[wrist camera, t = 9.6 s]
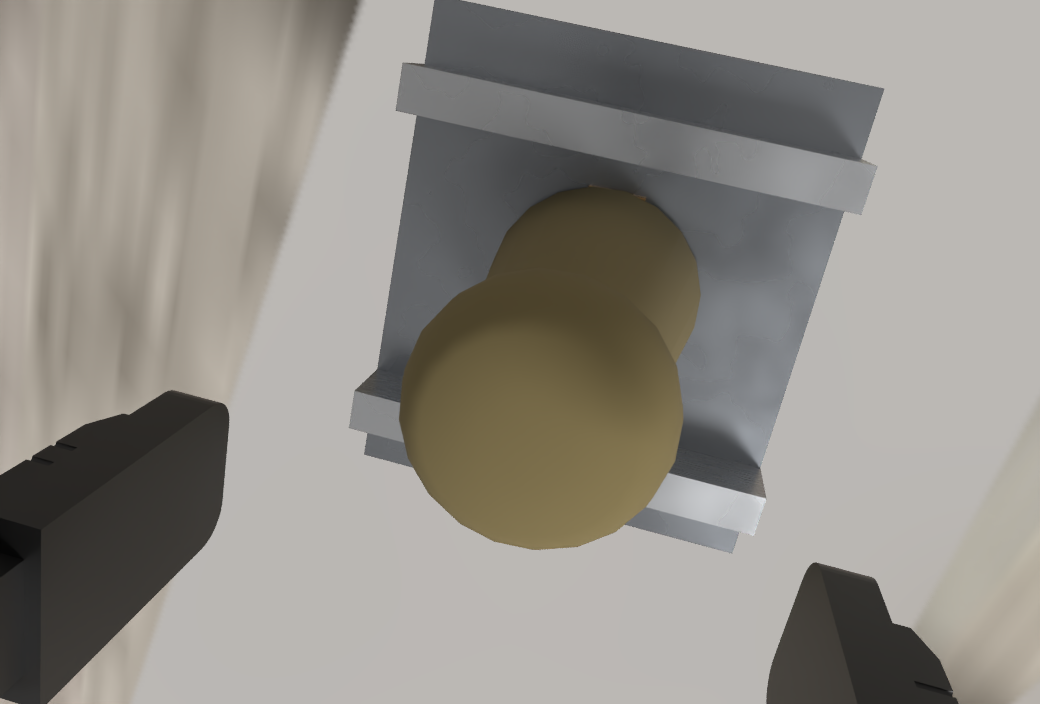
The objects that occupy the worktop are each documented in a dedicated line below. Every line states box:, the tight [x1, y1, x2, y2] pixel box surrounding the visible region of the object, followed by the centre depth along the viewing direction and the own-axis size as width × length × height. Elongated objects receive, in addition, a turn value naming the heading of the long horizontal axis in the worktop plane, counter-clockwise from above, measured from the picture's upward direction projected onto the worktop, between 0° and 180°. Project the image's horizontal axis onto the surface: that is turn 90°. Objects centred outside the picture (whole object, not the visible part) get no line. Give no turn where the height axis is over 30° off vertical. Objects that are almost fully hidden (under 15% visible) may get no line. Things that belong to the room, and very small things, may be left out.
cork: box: [399, 187, 701, 550], centre depth 19 cm, size 6×6×11 cm
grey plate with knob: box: [349, 0, 884, 553], centre depth 26 cm, size 14×12×6 cm
